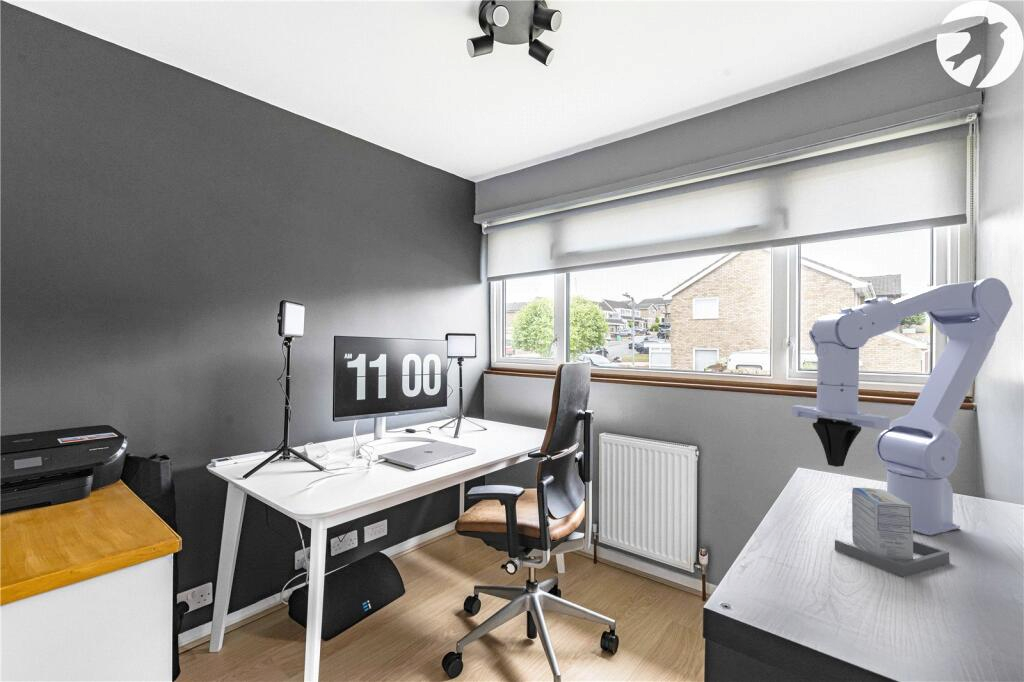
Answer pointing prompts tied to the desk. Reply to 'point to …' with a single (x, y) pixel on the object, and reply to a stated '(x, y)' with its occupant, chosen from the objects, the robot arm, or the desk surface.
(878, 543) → the medicine box
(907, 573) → the dock
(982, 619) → the desk surface
